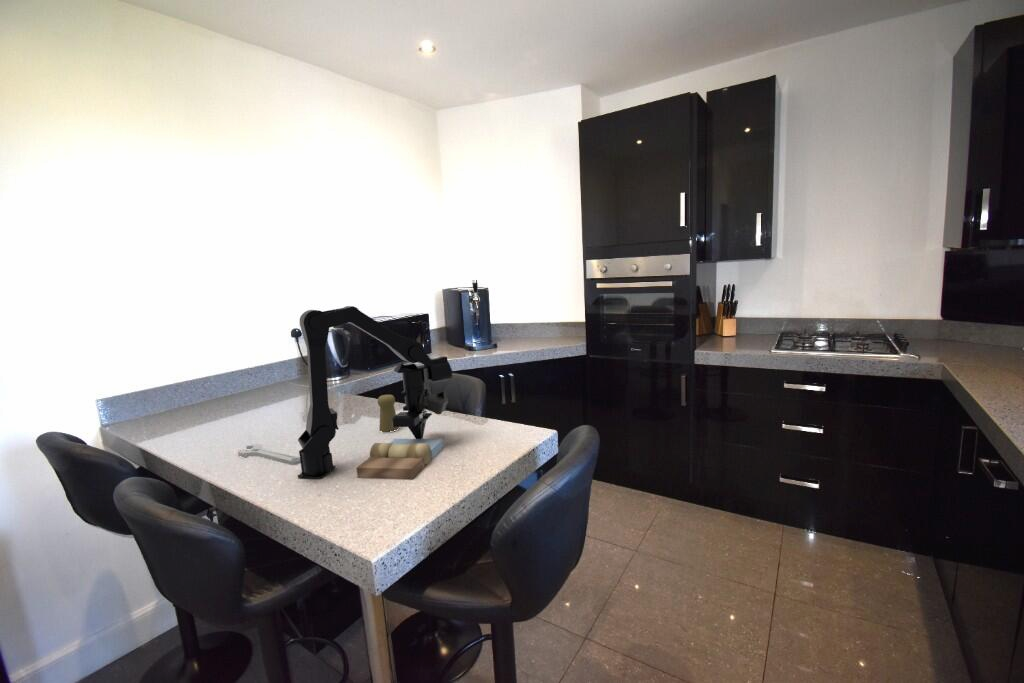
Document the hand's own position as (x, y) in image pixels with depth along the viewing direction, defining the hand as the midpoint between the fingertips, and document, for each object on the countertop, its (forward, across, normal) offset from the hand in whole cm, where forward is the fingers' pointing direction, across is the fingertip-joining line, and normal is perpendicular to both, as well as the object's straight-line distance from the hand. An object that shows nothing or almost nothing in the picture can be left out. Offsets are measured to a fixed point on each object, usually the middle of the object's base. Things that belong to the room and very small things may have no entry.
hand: (420, 441), depth 126 cm
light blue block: (+1, -8, 0) cm, 8 cm away
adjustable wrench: (+2, -10, +41) cm, 42 cm away
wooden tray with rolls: (+1, -15, 0) cm, 15 cm away
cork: (+2, +13, +16) cm, 21 cm away
